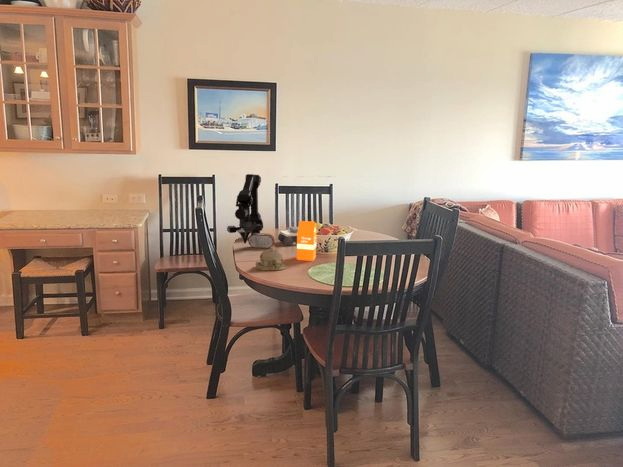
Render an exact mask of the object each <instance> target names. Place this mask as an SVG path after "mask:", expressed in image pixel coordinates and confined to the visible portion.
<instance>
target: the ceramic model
mask: <svg viewBox="0 0 623 467" xmlns="http://www.w3.org/2000/svg"><path fill="white" fill-rule="evenodd" d="M259 256H260V257H259V261H255V267H256V269H257V270H259V271H281V270H285V269H286V268H287V267H286V265H285V264H283V263H282V261H283V260H284V256H283V254H282V253H281V252H280V251H279V250H278V249H277V248H275V249H274V248H273V247H271V248H269V249H265V250H263V251H262V252H261V253H260V255H259Z"/></svg>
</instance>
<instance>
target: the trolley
mask: <svg viewBox="0 0 623 467" xmlns="http://www.w3.org/2000/svg"><path fill="white" fill-rule="evenodd" d="M297 232H298V226H290V227H289V230H288V229H287V230H279V234H278V236H277V240H278V241H279V242H281V243H284V245H286V246H289V247H290V246H292V245H293V243H294V242H295V244H296V245H297Z"/></svg>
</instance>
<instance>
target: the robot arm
mask: <svg viewBox="0 0 623 467" xmlns="http://www.w3.org/2000/svg"><path fill="white" fill-rule="evenodd" d="M244 181H245V182H244V185H243V188H242V190H240V191H239V192H238V194H237V196H236V200H235V202H236V203H235V207H236V208H237V207H238V208H237V209H236V210H235V211H234V216H235V217H236V219H238V220H239V224H238V226H236V225H228V226H227V227H226V231H227V233H229V234H234V233H236V232H237V233H238V234H239V235H240V237H241V239H242V242H243V244H247V242H248V239H249V236H250V235H251V234H253V233H261V231H263V229H264V223H263V222H264V221H263V219H262V216H261V214H260V212H259V193H258V189H259V187H260V185H261V182H262V178H261V176H260V175H259V174H253V173H251V174H250V173H247V174H245V179H244Z"/></svg>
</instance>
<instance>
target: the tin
mask: <svg viewBox="0 0 623 467" xmlns="http://www.w3.org/2000/svg"><path fill="white" fill-rule="evenodd" d="M247 242H248V244H249V246H250V247H252V248H253V249H265V250H269V249H270V248H273V247H274V245H275V242H276V240H275V236H273V235H272V234H270V233H262V232H260V233H253V234H251V233H250V234H249V236H248V239H247Z"/></svg>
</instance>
